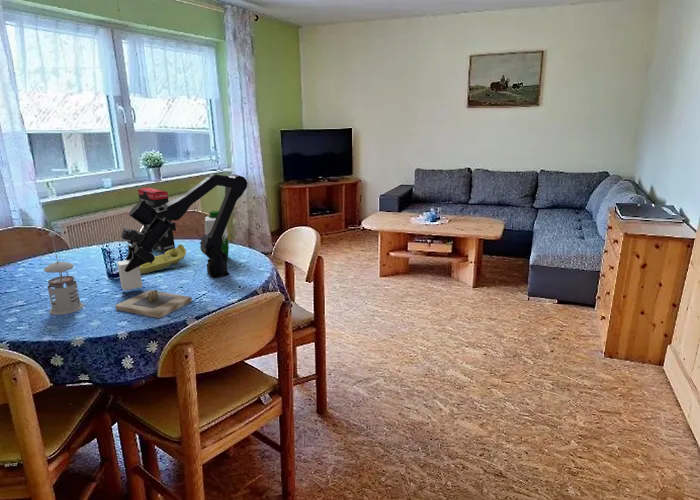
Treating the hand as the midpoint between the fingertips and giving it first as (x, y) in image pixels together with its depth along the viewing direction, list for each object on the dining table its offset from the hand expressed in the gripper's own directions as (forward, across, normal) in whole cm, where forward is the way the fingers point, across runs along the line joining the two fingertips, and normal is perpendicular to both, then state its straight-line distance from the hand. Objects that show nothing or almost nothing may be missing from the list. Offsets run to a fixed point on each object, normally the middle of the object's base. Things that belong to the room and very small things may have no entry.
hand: (124, 269), depth 159 cm
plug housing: (+4, 0, +6) cm, 7 cm away
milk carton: (-20, -19, +33) cm, 43 cm away
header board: (+2, +18, +10) cm, 20 cm away
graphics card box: (-9, -52, +21) cm, 57 cm away
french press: (+19, +3, -7) cm, 20 cm away
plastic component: (-5, -24, +17) cm, 30 cm away
